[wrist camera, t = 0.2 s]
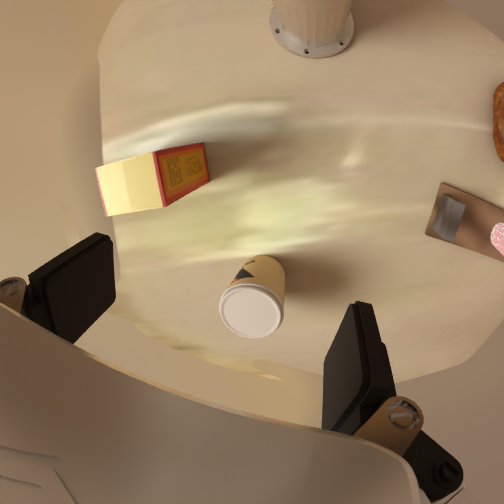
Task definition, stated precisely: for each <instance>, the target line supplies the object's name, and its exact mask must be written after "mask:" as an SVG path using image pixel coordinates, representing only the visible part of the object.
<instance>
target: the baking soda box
mask: <svg viewBox="0 0 504 504" xmlns="http://www.w3.org/2000/svg"><path fill="white" fill-rule="evenodd" d="M95 173H96V177H97V182H98V186H99V191H100V195H101V199H102V203H103V207H104V211H105V215H106V216H112V215H118V214H123V213H129V212H135V211H142V210H148V209H155V208H161V207H167V206H168V205H170V204H172V203H173V202H175V201H177V200H179V199H180V198H182V197H184V196H185V195H187V194H189V193H191V192H192V191H194V190H196V189H198V188H199V187H201V186H203V185H205V184H207V183H208V182H210V178H209V172H208V166H207V161H206V155H205V149H204V143H197V144H191V145H185V146H180V147H174V148H169V149H164V150H159V151H154V152H150V153H146V154H143V155H139V156H135V157H131V158H128V159H124V160H121V161H117V162H114V163H111V164H107V165H104V166H101V167H98V168H95Z"/></svg>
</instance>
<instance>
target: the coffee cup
mask: <svg viewBox="0 0 504 504" xmlns="http://www.w3.org/2000/svg"><path fill="white" fill-rule="evenodd" d="M284 295H285V271H284V269H283V267H282V265H281V264H280V263H279V262H278V261H277V260H276V259H274V258H272V257H269V256H265V255H259V256H255V257H252V258H250V259H249V260H248V261H247V262H246V263H245V264H244V265H243V267H242V268H241V270H240V271H239V272H238V274H237V275H236V277H235V278H234V280H233V281H232V283H231V284H230V286H229V287H228V289H227V290H226V291H225V292H224V294H223V295H222V297H221V299H220V303H219V310H220V314H221V318H222V320H223V322H224V323H225V325H226V326H227V327H228V328H229V329H230V330H232V331H233V332H234V333H236V334H238V335H240V336H243V337H246V338H262V337H266V336H268V335H270V334H272V333H273V332H274V331H276V330H277V329H278V328H279V326H280V325H281V323H282V321H283V317H284Z"/></svg>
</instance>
